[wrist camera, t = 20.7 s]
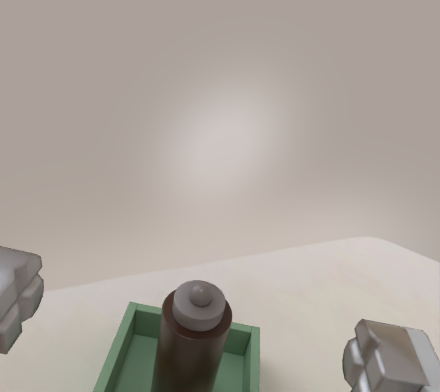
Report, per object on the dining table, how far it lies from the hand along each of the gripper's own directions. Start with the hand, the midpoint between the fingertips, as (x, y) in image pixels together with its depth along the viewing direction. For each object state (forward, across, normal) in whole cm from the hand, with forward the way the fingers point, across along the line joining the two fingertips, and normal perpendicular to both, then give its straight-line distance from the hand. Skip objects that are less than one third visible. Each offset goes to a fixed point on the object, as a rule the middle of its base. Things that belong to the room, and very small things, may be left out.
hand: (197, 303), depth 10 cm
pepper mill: (+12, 0, +24) cm, 27 cm away
